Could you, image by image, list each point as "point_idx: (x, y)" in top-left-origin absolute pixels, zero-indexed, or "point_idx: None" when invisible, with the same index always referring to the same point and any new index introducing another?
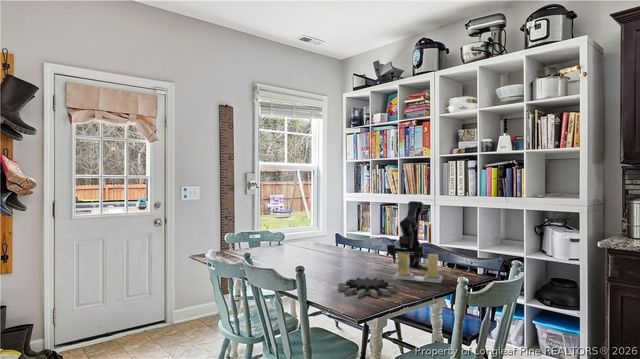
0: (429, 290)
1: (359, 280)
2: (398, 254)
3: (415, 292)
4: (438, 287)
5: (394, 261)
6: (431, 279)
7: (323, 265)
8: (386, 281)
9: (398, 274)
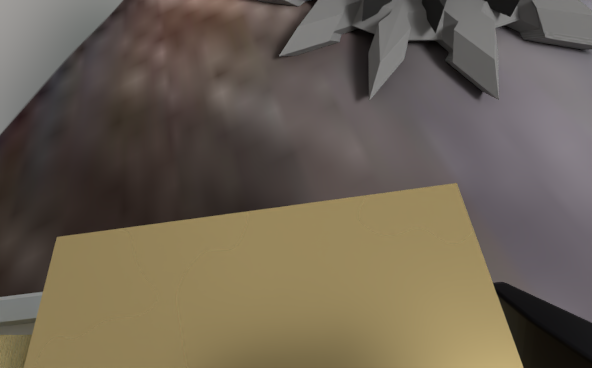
0: (89, 112)
1: None
2: (439, 207)
3: (165, 46)
4: (21, 203)
5: (504, 292)
6: (23, 299)
7: None
8: (375, 69)
9: None
